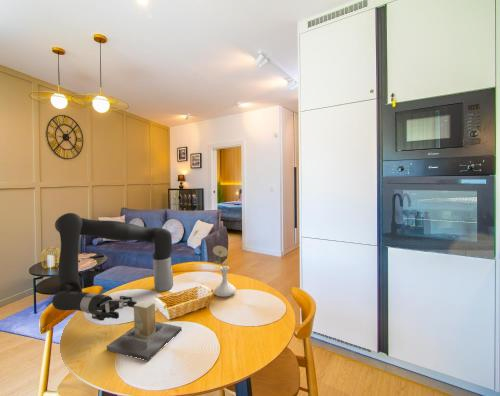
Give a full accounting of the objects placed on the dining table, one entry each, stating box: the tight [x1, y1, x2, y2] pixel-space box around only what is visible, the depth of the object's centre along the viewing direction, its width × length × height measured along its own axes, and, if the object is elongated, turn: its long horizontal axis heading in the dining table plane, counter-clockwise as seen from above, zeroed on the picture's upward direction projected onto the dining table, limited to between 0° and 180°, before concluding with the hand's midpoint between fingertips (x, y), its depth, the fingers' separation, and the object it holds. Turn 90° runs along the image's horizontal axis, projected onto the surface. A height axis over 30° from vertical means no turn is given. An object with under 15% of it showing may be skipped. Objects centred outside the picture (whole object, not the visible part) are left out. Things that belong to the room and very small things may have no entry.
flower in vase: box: [212, 245, 237, 298], centre depth 130 cm, size 13×11×25 cm
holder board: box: [106, 321, 183, 362], centre depth 93 cm, size 18×18×4 cm
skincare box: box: [133, 299, 156, 340], centre depth 93 cm, size 6×4×12 cm
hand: (127, 310), depth 96 cm, fingers open, 8 cm apart
